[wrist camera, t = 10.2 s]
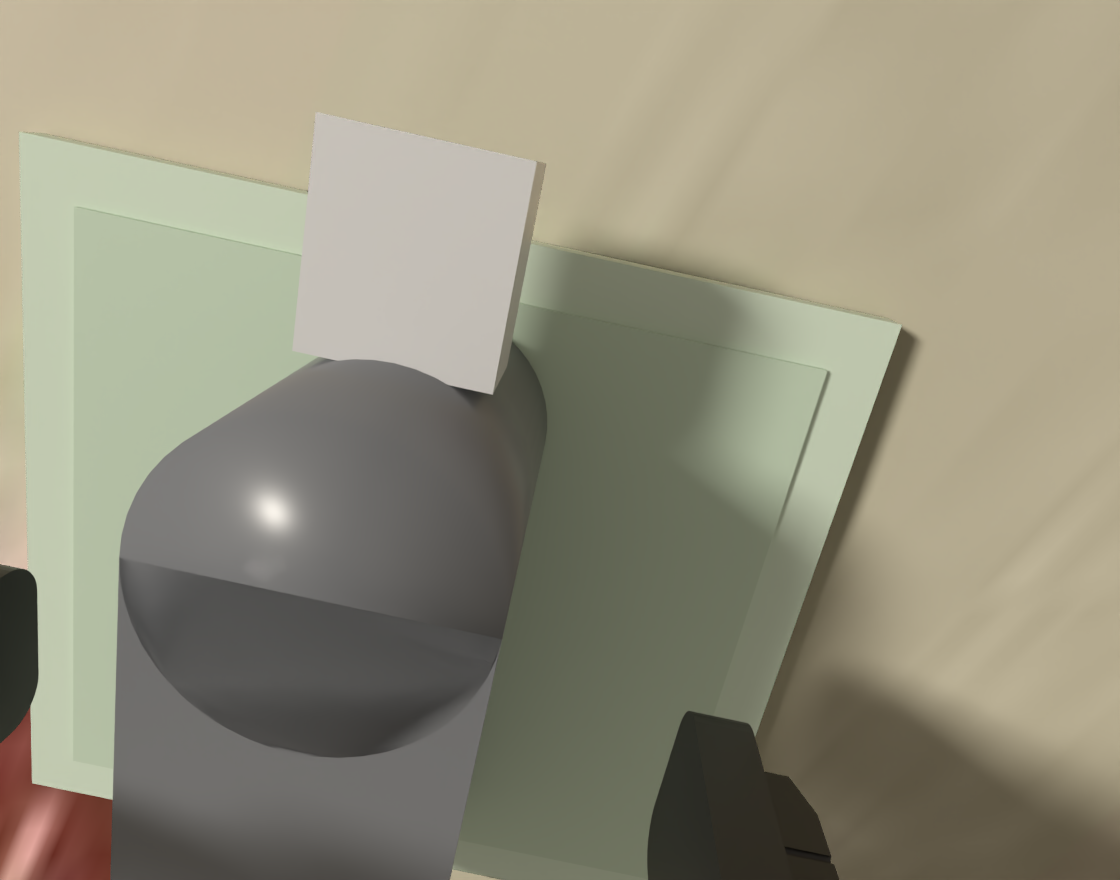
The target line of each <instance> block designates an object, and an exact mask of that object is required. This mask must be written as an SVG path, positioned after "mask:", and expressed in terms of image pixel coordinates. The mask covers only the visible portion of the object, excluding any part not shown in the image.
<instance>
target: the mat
mask: <svg viewBox="0 0 1120 880" xmlns="http://www.w3.org/2000/svg"><path fill="white" fill-rule="evenodd" d="M19 159H20V208H21V257H22V307H23V356H24V405H25V454H26V503H27V553H28V571H29V572H31V574H32V575H33V576H34V578H35V580H36V584H37V605H38V668H39V676H38V685H37V689H36V693H35V696H34V698H33V701H32V703H31V750H32V783H34V784H39V785H44V786H48V787H53V788H58V789H63V790H68V791H73V792H78V793H83V794H87V795H92V796H97V797H102V798H107V799H112V800H113V769H114V732H115V694H116V657H117V619H118V581H119V554H120V544H121V535H122V531H123V527H124V524H125V520H126V516H127V513H128V511H129V508H130V506H131V504H132V502H133V499H134V497H135V495H136V493H137V491H138V490H139V488H140V487H141V485H142V484H143V482H144V480H145V479H146V477H147V476H148V474H149V473H150V472H151V471H152V470H153V469H154V468H155V467H156V465H157V464H158V463H159V462H160V461H161V460H162V459H163V458H164V457H165V456H166V455H167V454H169V453H170V452H171V451H172V450H174V449H175V448H176V447H177V446H178V445H180V444H181V443H182V442H184V441H185V440H187V439H189V438H190V437H192V436H193V435H195V434H196V433H198V432H200V431H201V430H203V429H204V428H206V427H208V426H209V425H211V424H212V423H214V422H216V421H217V420H219V419H220V418H222V417H223V416H225V415H227V414H228V413H230V412H231V411H233V410H235V409H236V408H238V407H239V406H241V405H243V404H244V403H246V402H247V401H249V400H251V399H252V398H254V397H255V396H257V395H258V394H260V393H262V392H263V391H265V390H266V389H268V388H270V387H271V386H273V385H274V384H276V383H278V382H279V381H281V380H282V379H284V378H286V377H287V376H289V375H290V374H292V373H293V372H295V371H297V370H298V369H300V368H301V367H303V366H305V365H306V364H308V363H309V362H311V361H313V360H314V359H316V358H317V357H318V356H313V355H309V354H304V353H300V352H295V351H292V348H293V338H294V328H295V317H296V307H297V297H298V287H299V277H300V267H301V257H302V247H303V237H304V227H305V217H306V207H307V197H308V191H305V190H300V189H295V188H291V187H286V186H282V185H277V184H273V183H268V182H264V181H259V180H254V179H250V178H245V177H241V176H236V175H232V174H227V173H222V172H218V171H213V170H209V169H204V168H200V167H195V166H190V165H186V164H181V163H177V162H172V161H168V160H163V159H159V158H154V157H149V156H145V155H140V154H136V153H131V152H127V151H122V150H117V149H113V148H108V147H104V146H99V145H95V144H90V143H86V142H81V141H76V140H72V139H67V138H63V137H58V136H54V135H49V134H44V133H31V132H19ZM901 327H902V325H901V324H899V323H897V322H895V321H893V320H891V319H889V318H884V317H880V316H875V315H871V314H866V313H861V312H857V311H852V310H848V309H843V308H839V307H834V306H830V305H825V304H820V303H816V302H811V301H807V300H802V299H798V298H793V297H788V296H784V295H779V294H775V293H770V292H766V291H761V290H756V289H752V288H747V287H743V286H738V285H734V284H729V283H725V282H720V281H715V280H711V279H706V278H702V277H697V276H693V275H688V274H683V273H679V272H674V271H670V270H665V269H661V268H656V267H651V266H647V265H642V264H638V263H633V262H629V261H624V260H620V259H615V258H610V257H606V256H601V255H597V254H592V253H588V252H583V251H578V250H574V249H569V248H565V247H560V246H556V245H551V244H547V243H542V242H537V241H533V240H531V246H530V251H529V256H528V261H527V266H526V271H525V277H524V282H523V287H522V292H521V297H520V302H519V307H518V313H517V318H516V323H515V328H514V333H513V338H512V342H513V343H514V344H515V345H516V346H517V347H518V348H519V349H520V351H521V352H522V353H523V354H524V356H525V357H526V358H527V360H528V361H529V363H530V364H531V366H532V368H533V370H534V371H535V373H536V375H537V378H538V380H539V382H540V385H541V387H542V391H543V395H544V398H545V403H546V411H547V433H546V440H545V446H544V450H543V455H542V459H541V464H540V469H539V473H538V478H537V482H536V487H535V491H534V496H533V501H532V505H531V510H530V514H529V519H528V524H527V528H526V533H525V537H524V542H523V547H522V551H521V556H520V560H519V565H518V570H517V574H516V579H515V583H514V588H513V593H512V597H511V602H510V606H509V611H508V616H507V620H506V625H505V629H504V634H503V639H502V643H501V648H500V652H499V657H498V662H497V666H496V671H495V675H494V680H493V684H492V689H491V694H490V698H489V703H488V707H487V712H486V717H485V721H484V726H483V730H482V735H481V740H480V744H479V749H478V753H477V758H476V763H475V767H474V772H473V776H472V781H471V786H470V790H469V795H468V799H467V804H466V808H465V813H464V818H463V822H462V827H461V831H460V836H459V840H458V845H457V850H456V854H455V859H454V863H453V868H452V869H453V870H458V871H463V872H468V873H473V874H477V875H482V876H487V877H492V878H497V879H502V880H648V870H647V848H648V837H649V829H650V823H651V817H652V813H653V809H654V805H655V802H656V799H657V796H658V792H659V789H660V786H661V783H662V780H663V777H664V773H665V770H666V767H667V764H668V761H669V758H670V754H671V751H672V748H673V745H674V742H675V739H676V735H677V732H678V729H679V726H680V723H681V721H682V718H683V716H684V715H685V713H686V712H687V711H693V712H697V713H702V714H707V715H712V716H717V717H721V718H726V719H731V720H736V721H740V722H745V723H748V724H749V725H750V726H751V727H752V730H753V733H754V736H756V733H757V731H758V728H759V725H760V722H761V719H762V716H763V714H764V711H765V708H766V705H767V702H768V700H769V697H770V694H771V691H772V688H773V686H774V683H775V680H776V677H777V674H778V672H779V669H780V666H781V663H782V660H783V658H784V655H785V652H786V649H787V646H788V644H789V641H790V638H791V635H792V632H793V630H794V627H795V624H796V621H797V618H798V616H799V613H800V610H801V607H802V604H803V601H804V599H805V596H806V593H807V590H808V587H809V585H810V582H811V579H812V576H813V573H814V571H815V568H816V565H817V562H818V559H819V557H820V554H821V551H822V548H823V545H824V543H825V540H826V537H827V534H828V531H829V529H830V526H831V523H832V520H833V517H834V515H835V512H836V509H837V506H838V503H839V501H840V498H841V495H842V492H843V489H844V486H845V484H846V481H847V478H848V475H849V472H850V470H851V467H852V464H853V461H854V458H855V456H856V453H857V450H858V447H859V444H860V442H861V439H862V436H863V433H864V430H865V428H866V425H867V422H868V419H869V416H870V414H871V411H872V408H873V405H874V402H875V400H876V397H877V394H878V391H879V388H880V386H881V383H882V380H883V377H884V374H885V371H886V369H887V366H888V363H889V360H890V357H891V355H892V352H893V349H894V346H895V343H896V341H897V338H898V335H899V332H900V329H901Z"/></svg>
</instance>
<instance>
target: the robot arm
mask: <svg viewBox="0 0 1120 880" xmlns="http://www.w3.org/2000/svg"><path fill="white" fill-rule="evenodd" d="M38 676H39V668H38V605H37V584H36V580H35V578H34V576H33V575H32V574H31V572H29V571H27V570H25V569H20V568H15V567H10V566H6V565H1V564H0V743H1V742H2V741H3V740H4V739H5V738H6V737H8V736H9V735H10V734H11V733H12V732H13V731H14V730H15V729H16V727H17V726H18V725H19V724H20V722H21V721H22V719H23V718H24V716H25V715H26V713H27V711H28V709H29V708H30V705H31V703H32V701H33V698H34V696H35V693H36V689H37V685H38ZM830 859H831V854H830V851H829V848H828V845H827V842H826V839H825V836H824V833H823V830H822V827H821V824H820V821H819V818H818V815H817V814H816V812H815V811H814V810H813V808H812V807H811V806H810V805H809V803H808V802H807V801H806V799H805V798H804V797H803V795H802V794H801V793H800V791H799V790H798V789H797V787H796V786H795V785H794V783H793V782H792V781H791V779H790V778H789V777H787V776H782V775H777V774H773V773H768V772H764V769H763V766H762V762H761V758H760V755H759V751H758V747H757V743H756V740H755V736H754V733H753V730H752V727H751V726H750V725H749V724H748V723H745V722H740V721H736V720H731V719H726V718H721V717H717V716H712V715H707V714H702V713H697V712H693V711H687V712H686V713H685V715H684V716H683V718H682V721H681V723H680V726H679V729H678V732H677V735H676V739H675V742H674V745H673V748H672V751H671V754H670V758H669V761H668V764H667V767H666V770H665V773H664V777H663V780H662V783H661V786H660V789H659V792H658V796H657V799H656V802H655V805H654V809H653V813H652V817H651V823H650V829H649V837H648V848H647V870H648V880H839V878H838V875H837V872H836V869H835V866H834V864H831V862H830Z"/></svg>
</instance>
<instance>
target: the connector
mask: <svg viewBox="0 0 1120 880" xmlns="http://www.w3.org/2000/svg"><path fill="white" fill-rule="evenodd" d="M545 168H546V164H545V163H541V162H537V161H533V160H528V159H524V158H519V157H515V156H510V155H506V154H502V153H497V152H493V151H488V150H484V149H479V148H475V147H470V146H466V145H461V144H457V143H452V142H448V141H444V140H439V139H435V138H430V137H426V136H421V135H417V134H412V133H408V132H403V131H399V130H394V129H390V128H385V127H381V126H377V125H372V124H368V123H363V122H359V121H354V120H350V119H345V118H341V117H336V116H332V115H327V114H323V113H319V112H316V116H315V126H314V136H313V146H312V156H311V166H310V176H309V187H308V197H307V207H306V217H305V227H304V237H303V247H302V257H301V267H300V277H299V287H298V297H297V307H296V317H295V328H294V338H293V348H292V351H295V352H300V353H304V354H309V355H313V356H318V357H317V358H316V359H314V360H313V361H311V362H309V363H308V364H306V365H305V366H303V367H301V368H300V369H298V370H297V371H295V372H293V373H292V374H290V375H289V376H287V377H286V378H284V379H282V380H281V381H279V382H278V383H276V384H274V385H273V386H271V387H270V388H268V389H266V390H265V391H263V392H262V393H260V394H258V395H257V396H255V397H254V398H252V399H251V400H249V401H247V402H246V403H244V404H243V405H241V406H239V407H238V408H236V409H235V410H233V411H231V412H230V413H228V414H227V415H225V416H223V417H222V418H220V419H219V420H217V421H216V422H214V423H212V424H211V425H209V426H208V427H206V428H204V429H203V430H201V431H200V432H198V433H196V434H195V435H193V436H192V437H190V438H189V439H187V440H185V441H184V442H182V443H181V444H180V445H178V446H177V447H176V448H175V449H174V450H172V451H171V452H170V453H169V454H167V455H166V456H165V457H164V458H163V459H162V460H161V461H160V462H159V463H158V464H157V465H156V467H155V468H154V469H153V470H152V471H151V472H150V473H149V474H148V476H147V477H146V479H145V480H144V482H143V484H142V485H141V487H140V488H139V490H138V491H137V493H136V495H135V497H134V499H133V502H132V504H131V506H130V508H129V511H128V513H127V516H126V520H125V524H124V527H123V531H122V535H121V544H120V554H119V581H118V619H117V657H116V694H115V732H114V769H113V807H112V844H111V880H450V877H451V872H452V868H453V863H454V859H455V854H456V850H457V845H458V840H459V836H460V831H461V827H462V822H463V818H464V813H465V808H466V804H467V799H468V795H469V790H470V786H471V781H472V776H473V772H474V767H475V763H476V758H477V753H478V749H479V744H480V740H481V735H482V730H483V726H484V721H485V717H486V712H487V707H488V703H489V698H490V694H491V689H492V684H493V680H494V675H495V671H496V666H497V662H498V657H499V652H500V648H501V643H502V639H503V634H504V629H505V625H506V620H507V616H508V611H509V606H510V602H511V597H512V593H513V588H514V583H515V579H516V574H517V570H518V565H519V560H520V556H521V551H522V547H523V542H524V537H525V533H526V528H527V524H528V519H529V514H530V510H531V505H532V501H533V496H534V491H535V487H536V482H537V478H538V473H539V469H540V464H541V459H542V455H543V450H544V446H545V440H546V433H547V411H546V403H545V398H544V395H543V391H542V387H541V385H540V382H539V380H538V378H537V375H536V373H535V371H534V370H533V368H532V366H531V364H530V363H529V361H528V360H527V358H526V357H525V356H524V354H523V353H522V352H521V351H520V349H519V348H518V347H517V346H516V345H515V344H514V343H513V342H512V338H513V333H514V328H515V323H516V318H517V313H518V307H519V302H520V297H521V292H522V287H523V282H524V277H525V271H526V266H527V261H528V256H529V251H530V246H531V240H532V235H533V230H534V225H535V220H536V215H537V209H538V204H539V199H540V194H541V189H542V184H543V178H544V173H545Z"/></svg>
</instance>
